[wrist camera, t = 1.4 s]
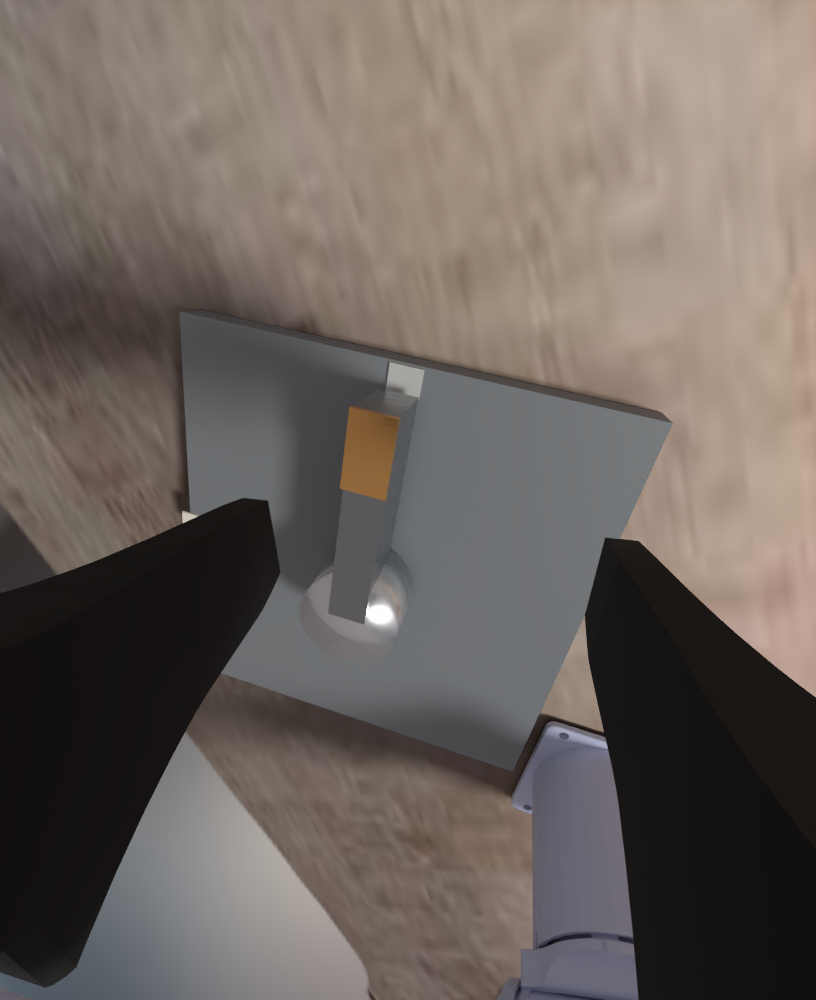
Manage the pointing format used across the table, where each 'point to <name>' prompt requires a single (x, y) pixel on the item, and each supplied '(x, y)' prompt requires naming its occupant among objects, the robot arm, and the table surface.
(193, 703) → the robot arm
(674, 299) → the table surface
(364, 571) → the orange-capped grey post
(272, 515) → the board
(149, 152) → the table surface
